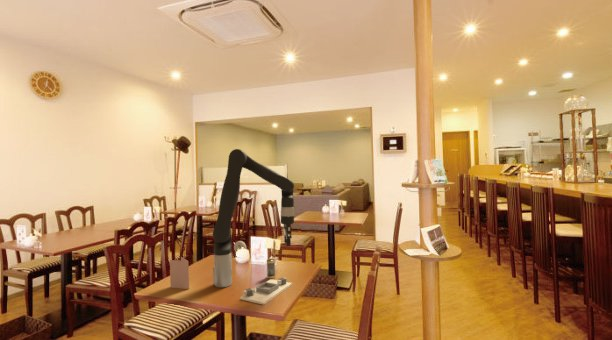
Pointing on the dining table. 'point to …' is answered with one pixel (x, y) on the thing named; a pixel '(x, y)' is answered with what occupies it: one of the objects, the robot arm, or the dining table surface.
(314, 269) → the dining table surface
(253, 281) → the dining table surface
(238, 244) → the donut
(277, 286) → the stand
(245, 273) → the dining table surface
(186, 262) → the greeting card
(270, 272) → the cylinder
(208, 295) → the dining table surface
